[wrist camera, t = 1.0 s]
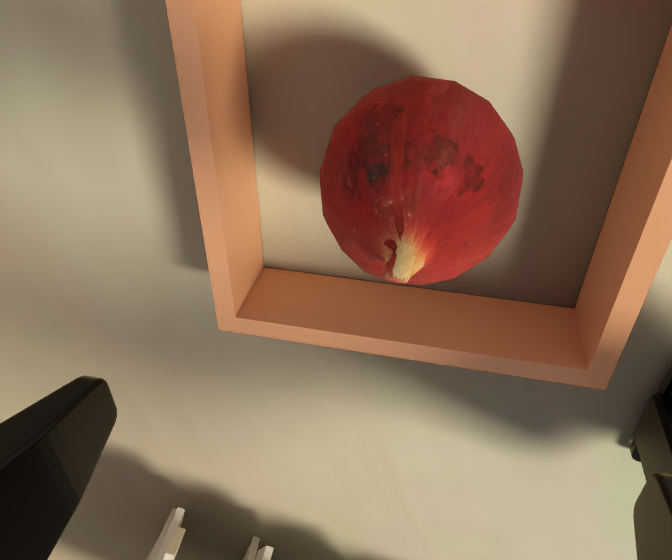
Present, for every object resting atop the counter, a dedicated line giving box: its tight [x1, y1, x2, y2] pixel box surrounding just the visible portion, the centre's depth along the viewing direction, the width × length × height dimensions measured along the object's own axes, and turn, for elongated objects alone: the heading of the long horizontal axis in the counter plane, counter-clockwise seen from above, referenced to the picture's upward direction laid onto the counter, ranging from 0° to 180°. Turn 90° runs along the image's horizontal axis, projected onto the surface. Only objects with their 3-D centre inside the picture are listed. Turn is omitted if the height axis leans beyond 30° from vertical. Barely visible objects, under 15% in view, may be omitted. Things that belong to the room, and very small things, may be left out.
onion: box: [320, 76, 523, 285], centre depth 16 cm, size 6×6×8 cm
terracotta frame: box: [165, 0, 672, 390], centre depth 18 cm, size 15×15×4 cm
